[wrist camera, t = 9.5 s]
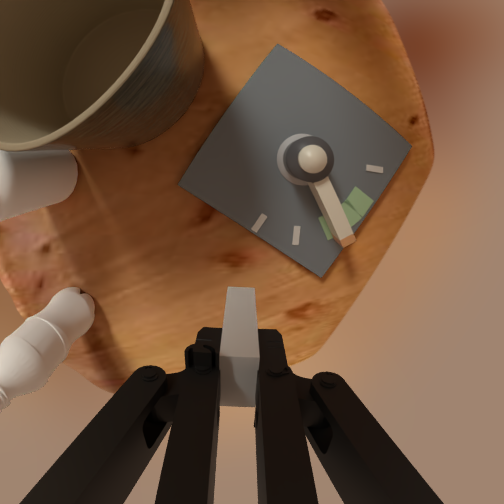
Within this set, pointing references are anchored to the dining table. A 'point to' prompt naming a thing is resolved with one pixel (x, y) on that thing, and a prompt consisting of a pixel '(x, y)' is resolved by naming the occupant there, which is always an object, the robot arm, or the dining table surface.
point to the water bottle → (43, 343)
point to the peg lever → (319, 182)
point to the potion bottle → (35, 180)
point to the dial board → (271, 158)
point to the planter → (95, 72)
